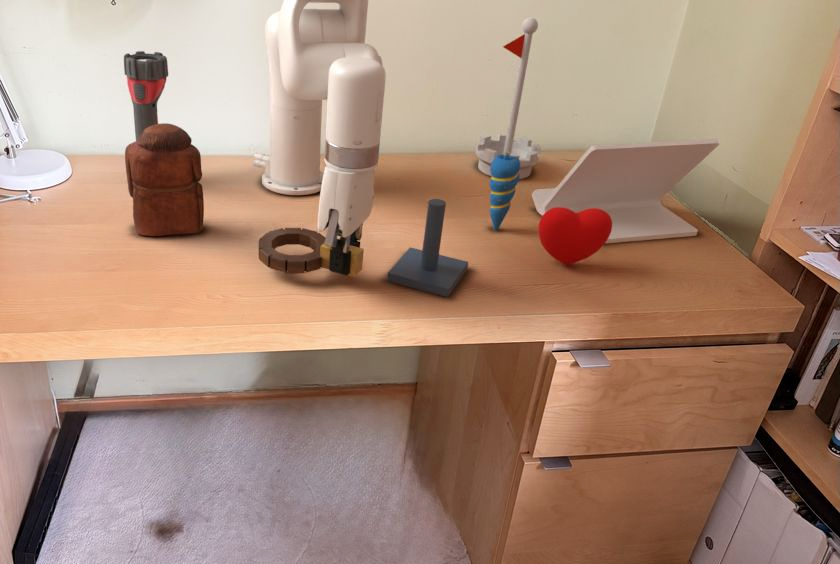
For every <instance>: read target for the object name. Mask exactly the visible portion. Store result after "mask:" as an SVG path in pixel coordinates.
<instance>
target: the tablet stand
mask: <svg viewBox="0 0 840 564" xmlns="http://www.w3.org/2000/svg"><path fill="white" fill-rule="evenodd" d="M719 145H720V144H719V141H718V139H717V138H712V139H711V138H710V139H709V138H708V139H690V140H672V141H671V140H670V141H652V142H651V141H649V142H631V143H611V144H594V145H592V146H589V147H588V148H587V150H586V151H585V152H584V153H583V154H582V156H581V157H580V158H579V159H578V160H577V162H576V163H575V164H574V165H573V166H572V168H571V169H570V170H569V172H568V173H567V174H566V175H565V176H564V178H563V179H562V180H561V181H560V182H559V184H558V185H557V186H556V187H555V188H554V187H553V188H551V187H550V188H539V189H538V188H537V189H534V191H533V192H532V193H531V197H532V201H533V203H534V206H535V210H536V212H537V213H538V214H540V215H541V217H542V216H543V214H544V213H545V212H546V211H548V210H549V209H552V208H555V207H563V208H567V209H570V210H572V211H573V212H575V213H578V212H580V211H583V210H586V209H591V208H597V209H601V210H604V211H605V212H607V213H608V214H609V216H610V217H611V220H612V230H611V233H610V236H609V238H608V239H607V241H606V242H605V244H615V243H626V242H627V243H628V242H640V241H650V240H662V239H672V238H674V239H675V238H684V237H685V238H686V237H695V236H697V234H698V232H699V230H698V229H697V228H696V227H695V226H693V225H691V224H690V223H689V222H687V221H685V220H684V219H683V218H681V217H680V216H679V215H677V214H675V213H674V212H672V211H671V210H670V209H668V208H667V207H665V206H664V205H662V199H663V198H664V197H665V196H666V195H667V194H668V193H669V192H670V191H671V190H672V189H673V188H674V187H675V186H677V185H678V183H680V182H681V181H682V180H683V179H684V178H685V177H686V176H687V175H689V173H691V172H692V171H693V170H694V169H695V168H696V167H697V166H698V165H699V164H700V163H701V162H702V161H703V160H705V159H706V158H707V157H708V156H709V155H710V154H711V153H712V152H713V151H714V150H715V149H716V148H717V147H718V146H719Z"/></svg>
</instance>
